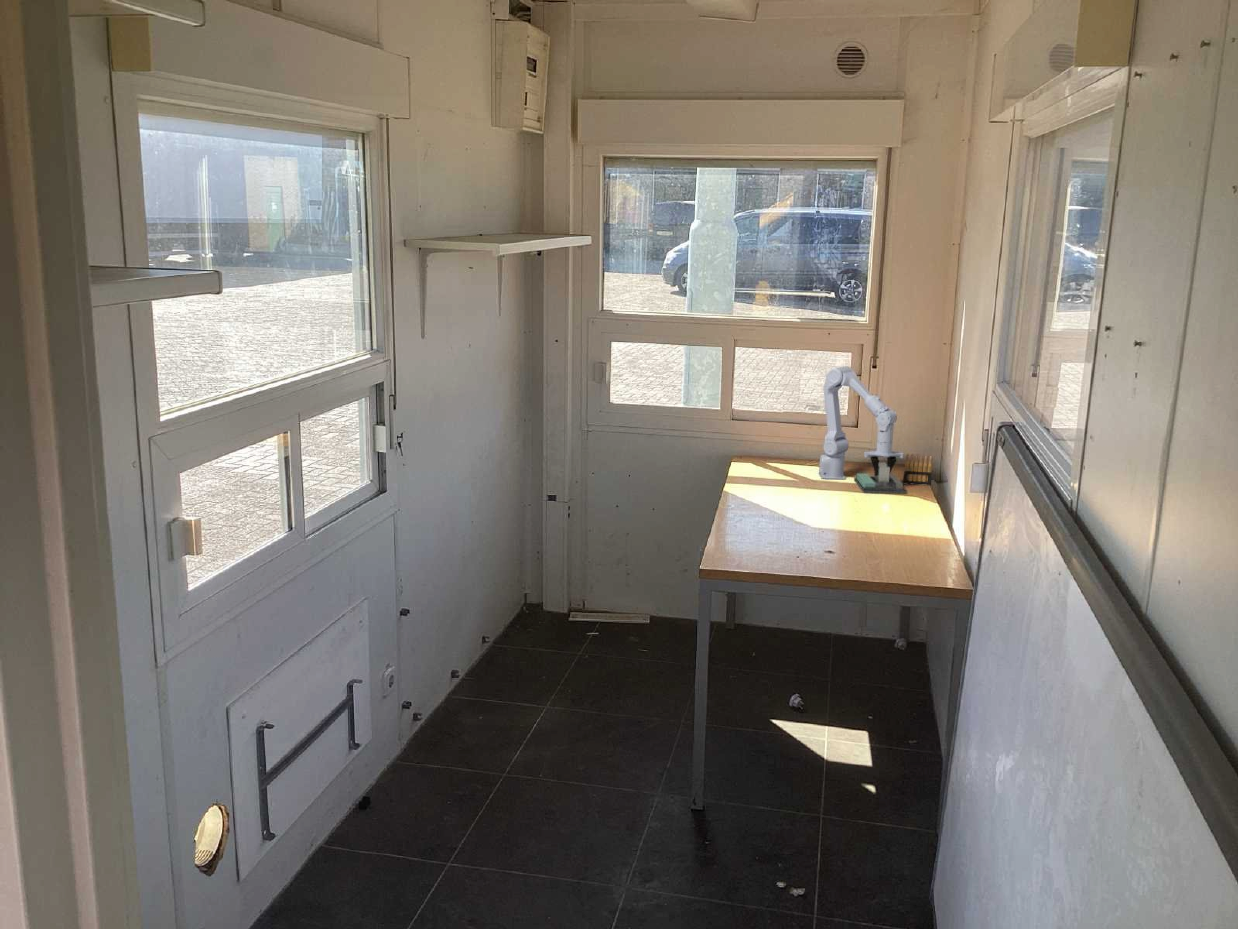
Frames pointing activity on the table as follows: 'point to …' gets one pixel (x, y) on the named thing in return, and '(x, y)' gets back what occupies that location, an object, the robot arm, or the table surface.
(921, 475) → the ammunition clip
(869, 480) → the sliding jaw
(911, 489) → the table surface
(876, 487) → the vise bed
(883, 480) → the steel block
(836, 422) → the robot arm
